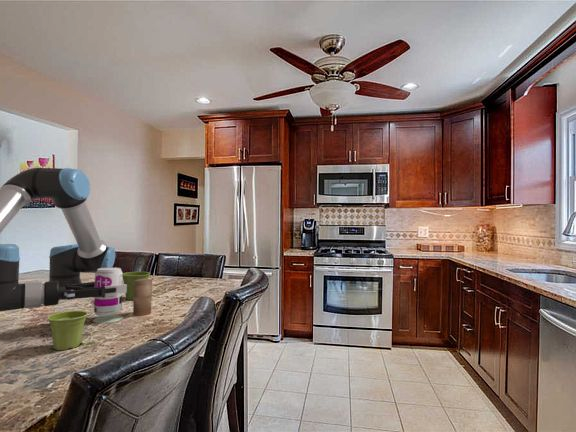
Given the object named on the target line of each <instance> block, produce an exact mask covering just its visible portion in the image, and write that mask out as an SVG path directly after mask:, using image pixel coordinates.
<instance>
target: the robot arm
mask: <svg viewBox="0 0 576 432" xmlns="http://www.w3.org/2000/svg"><path fill="white" fill-rule="evenodd" d="M90 186H91V184H90V181H89V178H88V176H87V175H86V173H84V172H83V171H82V170H80V169H77V168H71V167H65V168H58V167H57V168H54V167H53V168H52V167H33V168H29V169H25V170H22V171H21V172H19V173H17V174H16V175H14V176H13V177H12V176H11V178H9V179H8V180H7V181H6V182H5V183H4V184H2V186H1V187H0V234H1V233H2V232H3V231H4V230H5V228H6V227H7V226H8V225H9V223H11V221H12V220H13V219H14V218H15V216H16V215H17V214H18V213H19V211H20V210H21V209H22V208H23V207H26V206H29V204H30V203H32V201H35V200H38V199H42V200H43V199H46V200H47V199H49V200H51V201H52V203H53V205H54V207H56V208H58V209H61V212H62V213H63V217H64V218H65V220H66V222H67V224H68V227H69V229H70V231H71V233H72V235H73V237H74V239H75V241H76V243H75V244H67V245H58V246H53V247H52V248H50V251H49V269H48V270H49V276H48V277H49V278H48V281H45V282H44V283H43V282H42V281H33V282H25V283H23V282H22V283H19V276H20V275H19V274H20V259H21V258H20V247H19V246H18V245H17V244H14V243H0V312H6V311H15V310H24V309H28V310H31V311H33V309H34V308H39V307H42V305H43V306H45V307H49V306H57V305H58V304H59V303H60V302H59V301H60V300H63V299H65V300H67V301H70V300H76V299H88V298H90V299H91V298H94V297H102V298H104V297H105V295H109V294H118V293H122V294H125V293H127V284H124V283H123V284H122V285H113V286H105V287H95V281H91V282H82V280H81V273H89V274H90V273H91V274H92V273H93V274H94V273H96V272H97V269H100V268H109V267H113V266H114V264H115V260H116V250H115V248H114V247H113V246H109V247H108V245H107V243H106V242H105V241H104V240H103V239H101V238H100V236H99V233H98V230H97V228H96V225H95V223H94V221H93V219H92V216H91V213H90V211H89V208H88V206H87V203H86V201H87V199H88V198H89V195H90V194H91V187H90Z"/></svg>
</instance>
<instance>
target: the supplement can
mask: <svg viewBox="0 0 576 432" xmlns="http://www.w3.org/2000/svg"><path fill="white" fill-rule="evenodd" d="M122 273H123V271H122V268H121V267H116V266H115V267H109V268H100V269H97V272H96V273H95V274H94V282H95V287H105V286H113V285H123V276H122ZM93 298H94V301H93V302H94V303H93V304H94V305H93V313H94V314H95V315H97V316H100V317H101V316H106V315H117V314H119V313H120V312H121V311H122V309H123V308H122V306H123V305H122V304H123V303H122V302H123V301H122V300H123V293H118V294H109V295H105V297H104V298H102V297H93Z"/></svg>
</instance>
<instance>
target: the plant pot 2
mask: <svg viewBox="0 0 576 432" xmlns="http://www.w3.org/2000/svg"><path fill="white" fill-rule="evenodd" d="M150 275H151V272H149V271H148V272H147V271H129V272H122V282H123V285H124V284H127V293H124V294H125V299H126V300H127V301H133V299H134V280H138V279H149V276H150Z"/></svg>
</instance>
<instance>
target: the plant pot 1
mask: <svg viewBox="0 0 576 432" xmlns="http://www.w3.org/2000/svg"><path fill="white" fill-rule="evenodd" d="M88 315H89V312H88V311H84V310H69V311H63V312H58V313H57V312H56V313H53V314H50V315H48V316H47V318H46V319H47V321H48V322H49V325H50V329H51V337H52V345H53V349H54V350H55V351H56V350H57V351H66V350H69V349H70V348H71V349H75V348H77V347H79V346H80V345H81V342H82V336H83V332H84V327H85V321H86V320H87V317H88Z"/></svg>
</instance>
